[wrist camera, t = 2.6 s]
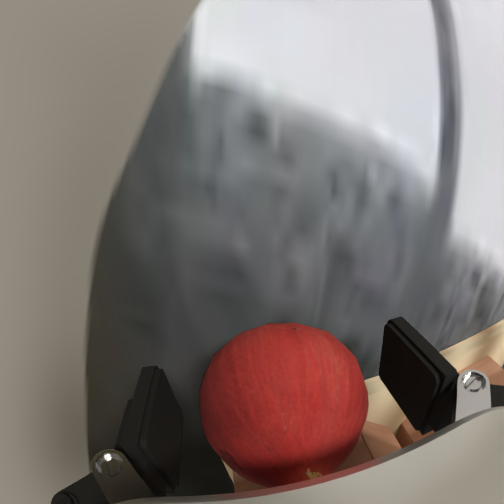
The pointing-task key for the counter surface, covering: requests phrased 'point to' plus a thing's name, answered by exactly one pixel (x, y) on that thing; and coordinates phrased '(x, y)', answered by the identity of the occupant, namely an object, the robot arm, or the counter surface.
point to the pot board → (390, 414)
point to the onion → (283, 403)
